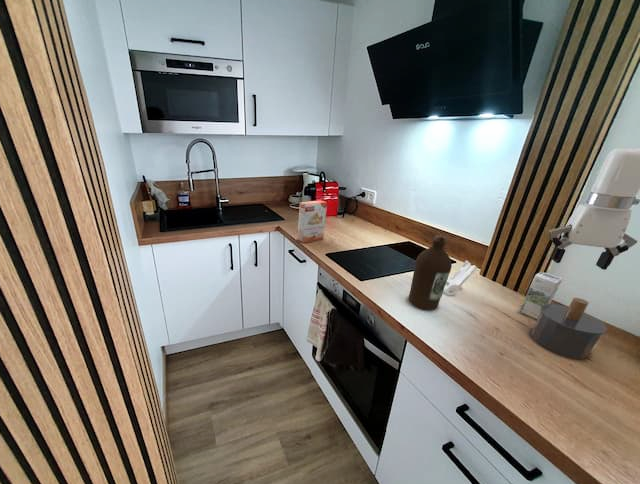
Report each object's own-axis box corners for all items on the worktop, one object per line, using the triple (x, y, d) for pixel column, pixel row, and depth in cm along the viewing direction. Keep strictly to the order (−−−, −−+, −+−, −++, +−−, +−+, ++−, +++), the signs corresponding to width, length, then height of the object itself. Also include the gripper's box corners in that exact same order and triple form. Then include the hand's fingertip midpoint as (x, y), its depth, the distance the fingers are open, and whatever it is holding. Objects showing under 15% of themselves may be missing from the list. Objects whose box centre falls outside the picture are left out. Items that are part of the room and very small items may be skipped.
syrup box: (545, 315, 95) (563, 277, 90) (539, 321, 92) (557, 282, 86) (524, 307, 100) (540, 270, 94) (518, 312, 97) (534, 274, 91)
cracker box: (303, 243, 151) (305, 204, 142) (296, 239, 155) (299, 202, 147) (324, 239, 157) (327, 202, 149) (317, 236, 162) (320, 199, 154)
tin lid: (580, 310, 84) (590, 291, 82) (619, 340, 72) (633, 318, 70) (529, 304, 87) (537, 285, 84) (558, 332, 75) (569, 311, 72)
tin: (567, 333, 87) (580, 309, 84) (600, 362, 76) (616, 337, 73) (522, 327, 89) (532, 304, 86) (547, 354, 78) (560, 329, 75)
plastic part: (433, 285, 113) (439, 258, 108) (455, 284, 114) (463, 257, 109) (445, 295, 106) (453, 267, 101) (469, 293, 107) (478, 265, 102)
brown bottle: (400, 299, 102) (415, 233, 92) (419, 292, 107) (436, 229, 97) (426, 314, 94) (445, 244, 84) (446, 307, 98) (467, 239, 89)
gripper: (644, 202, 70) (610, 264, 77) (557, 195, 76) (532, 254, 83) (668, 209, 64) (629, 276, 71) (572, 201, 70) (544, 264, 76)
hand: (577, 264), depth 77 cm, fingers open, 9 cm apart
